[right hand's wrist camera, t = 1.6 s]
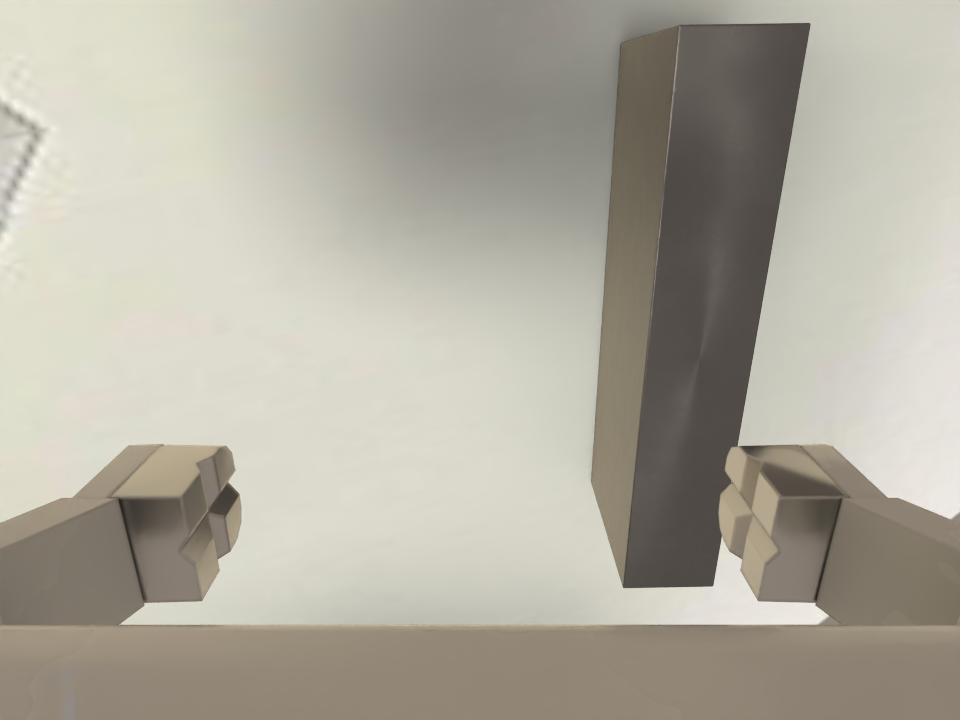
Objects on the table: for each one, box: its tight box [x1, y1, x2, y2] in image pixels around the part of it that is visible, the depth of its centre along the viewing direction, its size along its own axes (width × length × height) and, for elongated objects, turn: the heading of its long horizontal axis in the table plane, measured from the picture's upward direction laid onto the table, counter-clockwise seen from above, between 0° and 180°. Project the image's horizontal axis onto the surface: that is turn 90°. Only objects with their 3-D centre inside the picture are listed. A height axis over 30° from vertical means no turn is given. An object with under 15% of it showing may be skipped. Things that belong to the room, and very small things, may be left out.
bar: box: [591, 23, 810, 588], centre depth 30 cm, size 24×4×9 cm, turn 1°
